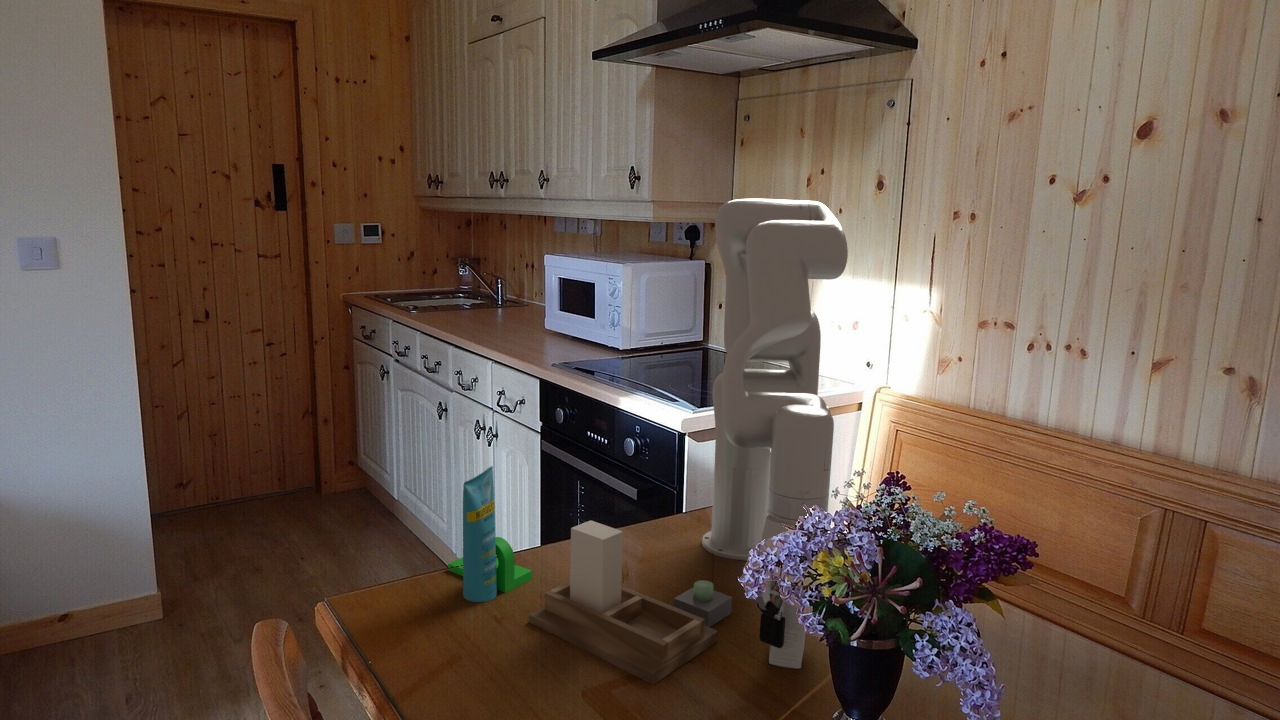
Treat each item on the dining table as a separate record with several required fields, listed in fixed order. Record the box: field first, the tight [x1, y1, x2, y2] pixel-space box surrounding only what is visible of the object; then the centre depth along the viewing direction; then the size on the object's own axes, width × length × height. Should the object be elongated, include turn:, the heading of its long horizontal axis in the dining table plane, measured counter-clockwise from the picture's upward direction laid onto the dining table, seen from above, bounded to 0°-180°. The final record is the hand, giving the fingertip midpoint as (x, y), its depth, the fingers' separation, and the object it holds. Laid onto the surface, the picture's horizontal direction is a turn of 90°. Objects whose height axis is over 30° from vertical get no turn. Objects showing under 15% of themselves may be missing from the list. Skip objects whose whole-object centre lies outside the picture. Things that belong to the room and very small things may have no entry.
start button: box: [693, 579, 714, 602], centre depth 119 cm, size 3×3×2 cm
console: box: [673, 586, 733, 628], centre depth 119 cm, size 6×6×2 cm
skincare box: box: [768, 582, 806, 670], centre depth 107 cm, size 6×4×12 cm
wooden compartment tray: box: [528, 580, 719, 685], centre depth 113 cm, size 14×22×4 cm, turn 51°
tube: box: [462, 465, 498, 603], centre depth 120 cm, size 7×5×19 cm, turn 164°
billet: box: [569, 519, 624, 613], centre depth 115 cm, size 4×6×12 cm, turn 51°
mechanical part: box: [447, 536, 533, 594], centre depth 128 cm, size 12×6×8 cm, turn 56°
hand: (789, 630), depth 108 cm, fingers open, 8 cm apart
